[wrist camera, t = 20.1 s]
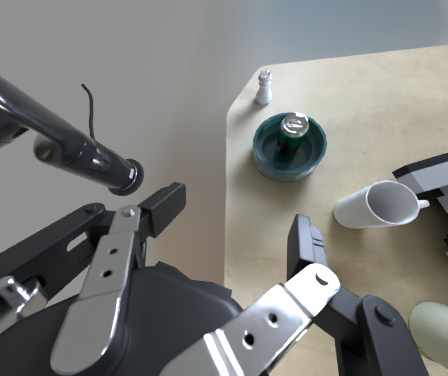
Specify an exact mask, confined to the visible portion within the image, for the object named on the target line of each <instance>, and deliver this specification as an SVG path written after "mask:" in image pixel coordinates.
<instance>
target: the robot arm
mask: <svg viewBox="0 0 448 376" xmlns="http://www.w3.org/2000/svg"><path fill="white" fill-rule="evenodd" d="M82 87H83V88H84V89H85V90H86V91H87V93H88V95H89V99H90V117H89V128H90V136H91V137H89V136H87V135H86V134H84V133H83V132H81V131H80V130H78V129H76V128H75V127H73V126H72V125H71V124H69V123H68V122H67V121H66V120H64V119H63V118H61V117H60V116H59V115H57V114H56V113H54V112H53V111H51V110H49V109H48V108H46V107H45V106H43V105H42V104H41V103H39V102H38V101H36V100H35V99H34V98H32V97H31V96H29V95H28V94H26V93H25V92H24V91H22V90H21V89H19V88H18V87H17V86H15V85H14V84H12V83H11V82H9V81H7V80H6V79H4V78H3V77H1V76H0V148H1V147H4V146H6V145H8V144H10V143H11V142H13V141H14V140H15V139H17V138H18V137H20V136H21V135H23V134H24V133H25V132H27V131H28V130H29V129H32V130H34V131H36V132H38V134H37V136H36V138H35V140H34V144H33V153H34V156H35V158H37V160H39V161H40V162H42V163H44V164H47V165H49V166H52V167H55V168H58V169H60V170H63V171H66V172H69V173H72V174H74V175H77V176H80V177H82V178H85V179H88V180H91V181H93V182H96V183H99V184H101V185H104V186H107V187H109V188H112V189H114V190H116V191H125V190H128V189H129V188H131V187H132V186H133V185H134V184H135V182H136V180H137V177H138V169H137V167H136V166H135V165H134V164H133V163H131V162H129V161H127V160H126V159H124V158H123V157H121V156H119V155H118V154H117V153H115V152H114V151H112V150H110V149H108V148H106V147H105V146H103V145H102V144H100V143H99V142H97V141H96V140H95V138H94V134H93V98H92V95H91V93H90V91H89V90H88V89H87V88H86V86H85V85H84V84H82ZM185 205H186V187H185V185H184V184H181V183H177V182H174V183H172V184H171V185H170V186H168V187H164V188H162V189H160V190H158V191H157V192H156V193H154V194H153V195H152V196H150V197H148V198H147V199H146V200H144V201H143V202H141V203H140V204H139V205H137V206H134V205H129V206H125V207H122V208H120V209H118V210H117V211H106V209H105V206H104V205H103V204H101V203H91V204H87V205H84V206H82V207H81V208H79V209H77V210H75V211H73V212H72V213H70V214H68V215H66V216H65V217H63V218H61V219H59V220H58V221H56V222H54V223H52V224H51V225H49V226H47V227H45V228H44V229H42V230H40V231H38V232H37V233H35V234H33V235H31V236H30V237H28V238H26V239H25V240H23V241H21V242H19V243H17V244H16V245H14V246H12V247H10V248H9V249H7V250H5V251H3V252H2V253H0V376H269V373H270V372H271V371H272V370H273V369H274V368H275V367H276V366H277V364H278V363H279V362H280V361H281V360H282V359H283V358H284V356H285V355H286V354H287V353H288V351H289V350H290V349H291V348H292V347H293V346H294V344H295V343H296V342H297V341H298V340H299V339H300V338H301V337H302V336H303V334H304V333H305V332H306V331H307V330H308V329H309V328H310V327H311V325H312V324H313V323H315V324H316V325H317V326H319V327H320V328H321V329H323V330H324V331H325V332H327V333H328V334H329V335H331V336H332V337H333V338H334V339H335V347H336V355H337V363H338V371H339V376H429V374H428V371H427V369H426V367H425V365H424V363H423V360H422V358H421V356H420V354H419V351H418V349H417V347H416V345H415V343H414V340H413V338H412V336H411V334H410V331H409V329H408V327H407V325H406V323H405V321H404V319H403V318H402V316H401V315H400V314H399V312H398V311H397V310H396V309H395V308H394V307H393V306H391V305H390V304H389V303H387V302H386V301H384V300H383V299H381V298H378V297H376V296H372V295H368V296H365V297H364V298H363V299H362V298H360V297H358V296H357V295H355V294H353V293H351V292H350V291H348V290H347V289H345V288H344V287H342V286H341V285H340V283H339V280H338V279H337V277H336V276H335V274H334V273H333V272H332V271H331V270H329V265H328V261H327V256H326V252H325V248H324V243H323V238H322V234H321V233H320V231H319V230H318V229H317V227H313V226H311V224H310V218H309V217H306V216H303V215H299V214H296V216H295V218H294V221H293V224H292V226H291V229H290V231H289V235H288V241H287V283H286V284H284V285H283V284H282V283H280V284H278V285H276V286H275V287H274V288H272V289H271V290H270V291H268V292H267V293H266V294H264V295H263V296H262V297H260V298H259V299H258V300H256V301H255V302H254V303H252V304H251V305H250V306H249V307H247V308H246V309H245V310H243V309H242V308H241V306H240V305H239V304H238V303H237V302H236V301H235V300H234V299H233V298H231V293H232V290H230V289H228V288H225V287H223V286H220V285H218V284H215V283H213V282H205V281H197V280H191V279H189V278H188V277H187V276H185V275H184V274H183V273H181V272H180V271H179V270H178V269H177V268H175V267H173V266H170V265H168V264H165V263H163V262H160V261H159V262H158V263H157V264H156V265H155V267H154V266H148V267H145V259H146V246H147V240H146V238H147V237H148V236H151V237H153V238H156V237H157V236H158V235H159V234H160V233H161V232H162V231H163V230H164V229H165V228H166V227H167V226H168V225H169V224H170V223H171V222H172V221H173V219H174V218H175V217H176V216H177V215H178V214H179V213H180V212H181V211H182V210H183V209H184V207H185ZM83 232H85V233H86V235H87V238H86V239H85V240H84V241H82V242H81V243H80V244H78V245H77V246H76V247H74V248H73V249H72V250H70V251H69V252H68V251H67V246H68V244H69V243H70V242H71V241H72V240H74V239H75V238H76V237H78V236H79V235H81V234H82V233H83ZM88 265H90V267H89V270H88V272H87V275H86V278H85V280H84V283H83V286H82V288H81V291H80V293H79V294H77V295H74V296H72V297H70V298H68V299H65V300H63V301H61V302H58V303H56V304H54V305H52V306H49V307H47V308H45V306H46V305H47V303H48V301H50V300H51V299H52V298H53V297H54V296H55V295H56V294H57V293H58V292H60V291H61V290H62V289H63V288H64V287H65V286H66V285H67V284H68V283H70V282H71V281H72V280H73V279H74V278H75V277H76V276H77V275H78V274H80V273H81V272H82V271H83V270H84V269H85V268H86V267H87V266H88ZM44 308H45V309H44Z"/></svg>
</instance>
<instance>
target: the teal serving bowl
mask: <svg viewBox="0 0 448 376" xmlns="http://www.w3.org/2000/svg"><path fill="white" fill-rule="evenodd" d="M289 114H292V113H281V114H278V115H275V116H272V117H270V118H269V119H267V120H266V121H264V122H263V123H262V124H261V125H260V127H259V128H258V129H257V130H256V133H255V136H254V139H253V152H254V161H255V164H256V166H257V168H258V169H259V170H260V172H261V173H262V174H263V175H265V176H266V177H268V178H270V179H271V180H275V181H278V182H294V181H297V180H300V179H303V178H304V177H306V176H307V175H308V174H310V173H311V172H312V171H313V169H314V168H315V167H316V166H317V165H318V163H319V162H320V161H321V159H322V158H323V156H324V155H325V151H326V147H327V141H326V135H325V133H324V131H323V129H322V128H321V126H320V125H319V124H318V123H317V122H316V121H314V120H313V119H312V118H310V117H308V116H305V115H304V116H305V117H306V118H307V120H308V125H309V128H308V131H307V133H306V135H305V137H304V139H303V142H302V144H301V146H300V148H299V150H298V152H297V154H296V156H295V158H294V159H293V160H292V161H290V162H281V161H279V160H278V159H277V158H276V157H275V154H274V152H275V147H276V143H277V138H278V134H279V129H280V125H281V122H282V121H283V119H285V117H286V116H287V115H289Z"/></svg>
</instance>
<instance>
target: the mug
mask: <svg viewBox="0 0 448 376" xmlns="http://www.w3.org/2000/svg"><path fill="white" fill-rule="evenodd" d="M428 206H429V202H428V201H427V200H418V199H417V197H416V195H415V194H414V193H413V192H412V191H411V190H410V189H409V188H408V187H406V186H405V185H403V184H401V183H398V182H395V181H379V182H376V183H374V184H372V185H370V186H368V187H366V188H364V189H362V190H360V191H358V192H357V193H355V194H353V195H351V196H349V197H347V198H345V199H343V200H341V201H340V202H338V203H337V204H336V205H335V207H334V216H335V219H336V220H337V222H338V223H339V224H341V225H342V226H344V227H346V228H351V229H357V228H370V227H383V226H394V225H403V224H407V223H409V222H411V221H413V220H414V219H415V218H416V217H417V215H418V213H419V209H420V208H423V207H428Z"/></svg>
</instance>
